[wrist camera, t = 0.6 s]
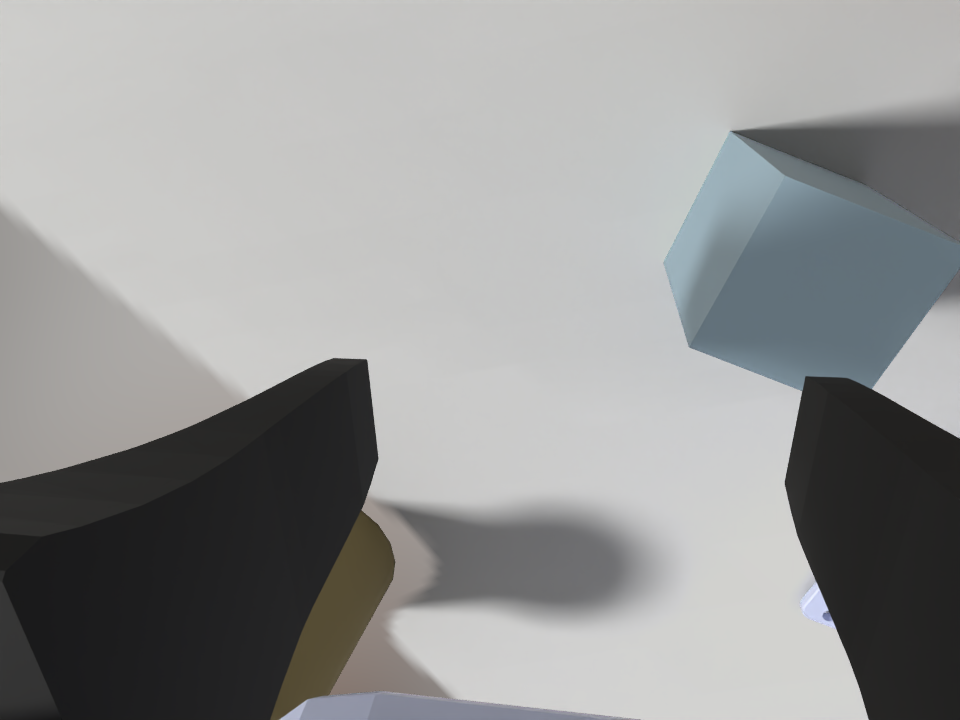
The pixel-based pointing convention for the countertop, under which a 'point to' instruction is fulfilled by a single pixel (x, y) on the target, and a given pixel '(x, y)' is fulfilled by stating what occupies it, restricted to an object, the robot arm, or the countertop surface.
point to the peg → (802, 269)
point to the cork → (338, 615)
